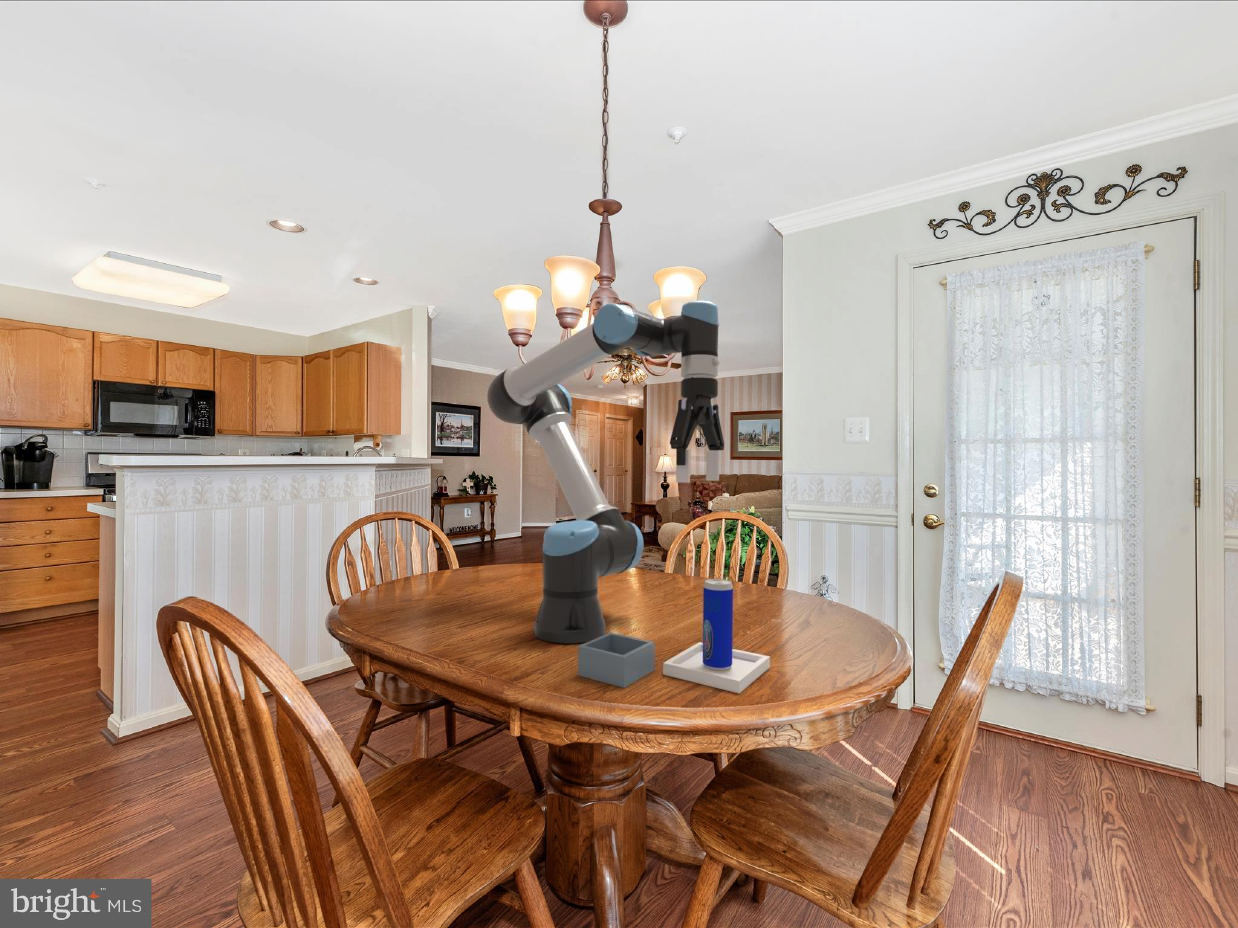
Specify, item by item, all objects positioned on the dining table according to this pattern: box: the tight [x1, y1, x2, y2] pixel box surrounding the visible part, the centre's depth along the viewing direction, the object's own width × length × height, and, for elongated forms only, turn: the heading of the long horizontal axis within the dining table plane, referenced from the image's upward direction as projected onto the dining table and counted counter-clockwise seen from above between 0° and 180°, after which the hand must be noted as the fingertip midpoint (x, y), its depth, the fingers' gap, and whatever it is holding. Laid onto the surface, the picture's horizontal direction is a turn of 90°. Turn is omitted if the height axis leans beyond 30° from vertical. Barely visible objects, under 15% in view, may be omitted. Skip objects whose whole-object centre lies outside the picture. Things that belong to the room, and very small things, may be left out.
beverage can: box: [702, 578, 734, 671], centre depth 101 cm, size 5×5×15 cm
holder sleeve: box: [577, 632, 656, 689], centre depth 100 cm, size 10×10×5 cm
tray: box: [662, 641, 771, 695], centre depth 101 cm, size 14×14×2 cm
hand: (698, 481), depth 119 cm, fingers open, 13 cm apart
